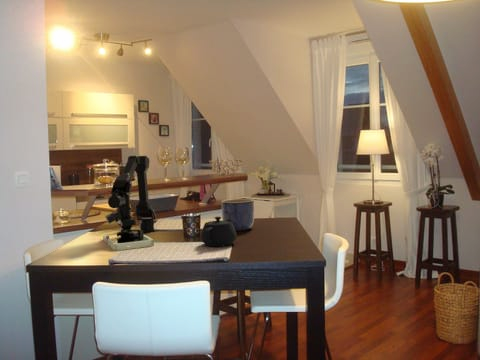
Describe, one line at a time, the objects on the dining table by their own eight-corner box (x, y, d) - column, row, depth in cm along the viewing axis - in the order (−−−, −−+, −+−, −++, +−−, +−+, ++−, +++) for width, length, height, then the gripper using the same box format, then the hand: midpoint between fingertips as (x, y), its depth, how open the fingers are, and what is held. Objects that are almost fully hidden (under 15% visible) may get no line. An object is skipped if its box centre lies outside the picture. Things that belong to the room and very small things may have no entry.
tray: (144, 240, 225) (144, 234, 225) (153, 245, 211) (153, 239, 211) (107, 244, 218) (107, 239, 218) (114, 250, 204) (114, 244, 204)
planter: (217, 231, 240) (215, 202, 239) (230, 226, 256) (229, 198, 255) (247, 232, 234) (246, 202, 233) (259, 227, 250) (258, 198, 248)
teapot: (223, 251, 194) (222, 221, 194) (190, 249, 201) (188, 220, 200) (247, 239, 217) (246, 212, 216) (216, 238, 224) (215, 212, 223)
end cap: (144, 243, 218) (143, 228, 217) (135, 246, 211) (134, 231, 211) (125, 242, 221) (124, 228, 221) (116, 245, 215) (115, 231, 214)
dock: (136, 235, 238) (136, 229, 238) (141, 238, 229) (141, 232, 229) (103, 239, 231) (102, 233, 231) (106, 243, 222) (106, 236, 222)
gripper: (102, 205, 227) (104, 237, 228) (110, 209, 210) (112, 244, 211) (126, 203, 232) (128, 234, 233) (135, 206, 215) (137, 241, 216)
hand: (125, 238), depth 223 cm, fingers closed
